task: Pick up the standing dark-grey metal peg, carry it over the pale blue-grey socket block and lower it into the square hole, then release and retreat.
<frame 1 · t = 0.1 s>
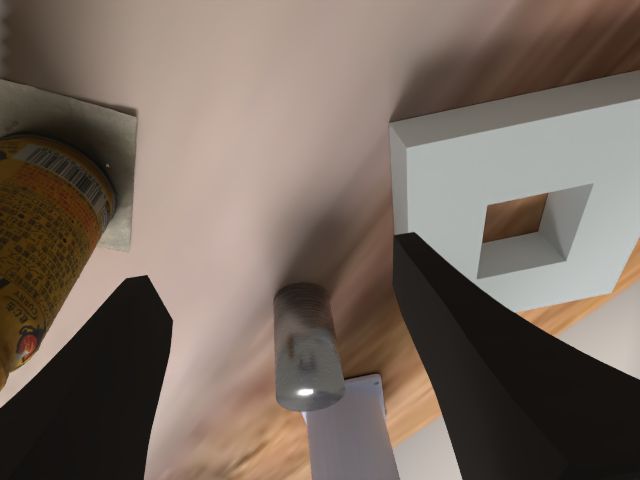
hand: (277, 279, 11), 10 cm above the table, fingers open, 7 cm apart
peg: (301, 302, 27), on the table
socket: (503, 206, 23), on the table
condiment: (57, 171, 19), on the table
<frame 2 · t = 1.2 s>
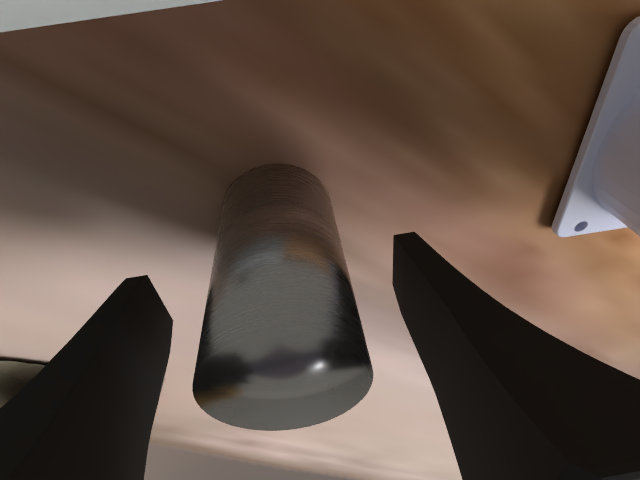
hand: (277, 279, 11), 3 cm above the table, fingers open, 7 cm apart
peg: (278, 213, 14), on the table
condiment: (73, 398, 20), on the table
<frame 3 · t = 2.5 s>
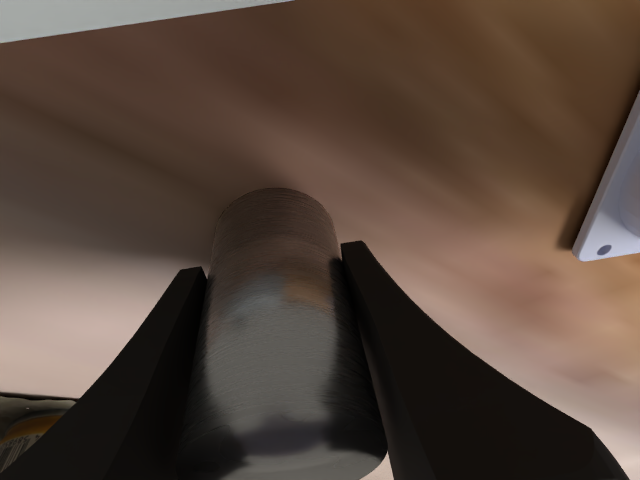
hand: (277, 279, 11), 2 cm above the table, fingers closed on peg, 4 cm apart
peg: (276, 239, 13), on the table, touching gripper
condiment: (58, 429, 19), on the table
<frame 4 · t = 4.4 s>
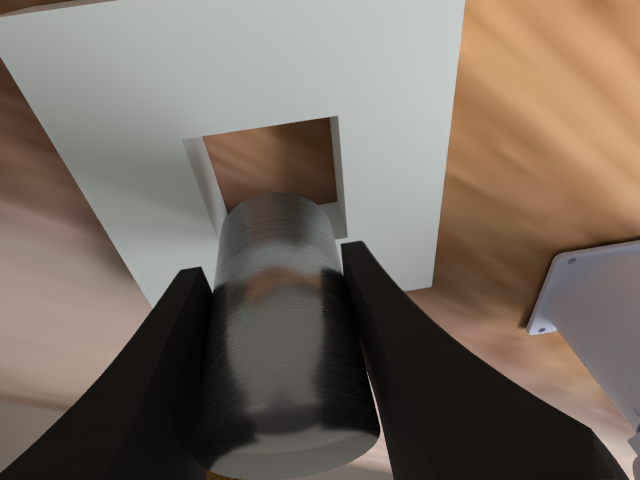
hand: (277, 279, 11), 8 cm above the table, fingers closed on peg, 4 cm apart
peg: (277, 239, 13), point 5 cm above the table, touching gripper
socket: (273, 160, 17), on the table
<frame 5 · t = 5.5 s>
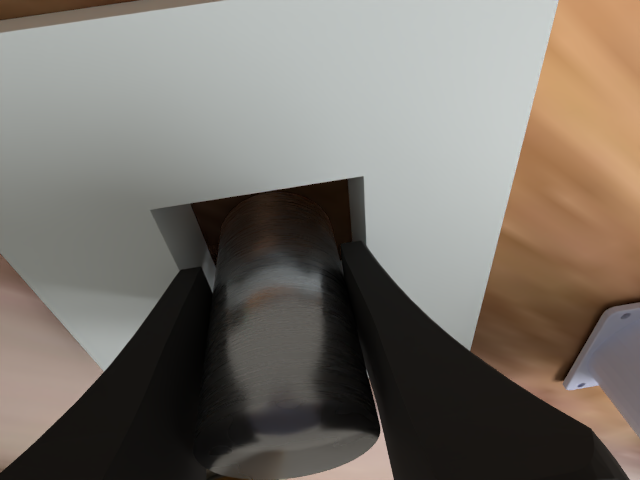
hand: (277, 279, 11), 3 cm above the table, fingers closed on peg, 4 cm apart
peg: (277, 239, 13), point 1 cm above the table, touching gripper
socket: (274, 215, 14), on the table
condiment: (230, 478, 29), on the table
when the fingers open (3 cm above the table, at t = 6.2 s): peg stays where it is, resting in socket.
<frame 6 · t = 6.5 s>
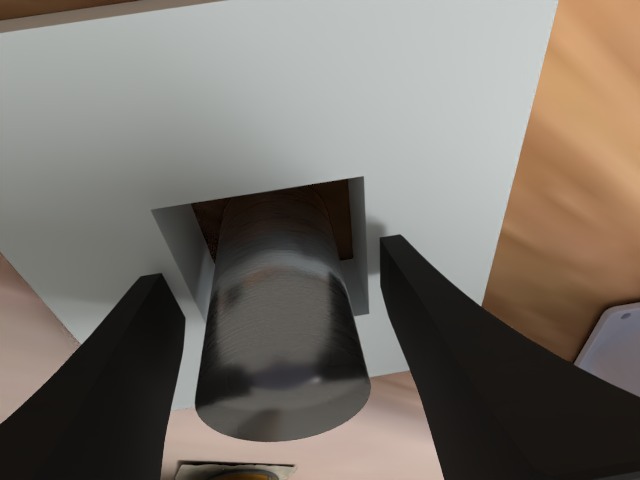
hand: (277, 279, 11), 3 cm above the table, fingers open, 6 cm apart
peg: (276, 225, 14), resting in socket
socket: (275, 214, 14), on the table
condiment: (230, 478, 29), on the table
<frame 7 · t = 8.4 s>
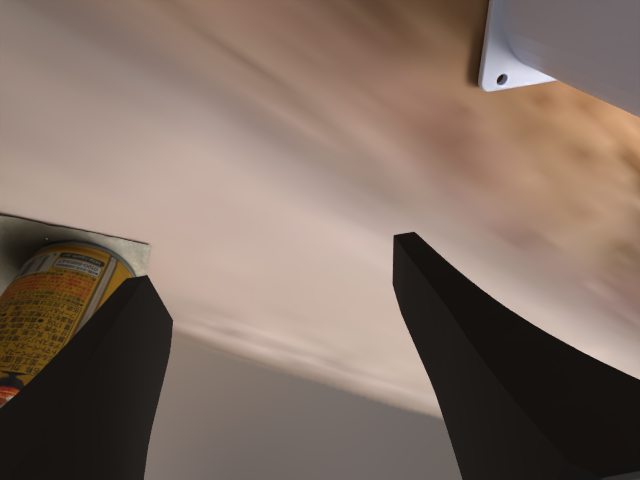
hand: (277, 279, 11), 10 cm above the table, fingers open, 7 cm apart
condiment: (71, 270, 23), on the table
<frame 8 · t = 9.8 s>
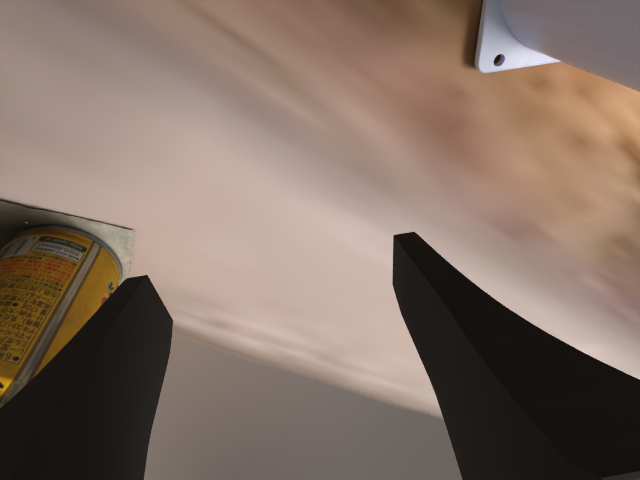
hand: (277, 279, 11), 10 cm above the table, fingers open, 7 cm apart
condiment: (53, 256, 22), on the table
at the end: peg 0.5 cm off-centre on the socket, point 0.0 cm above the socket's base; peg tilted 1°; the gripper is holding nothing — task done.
